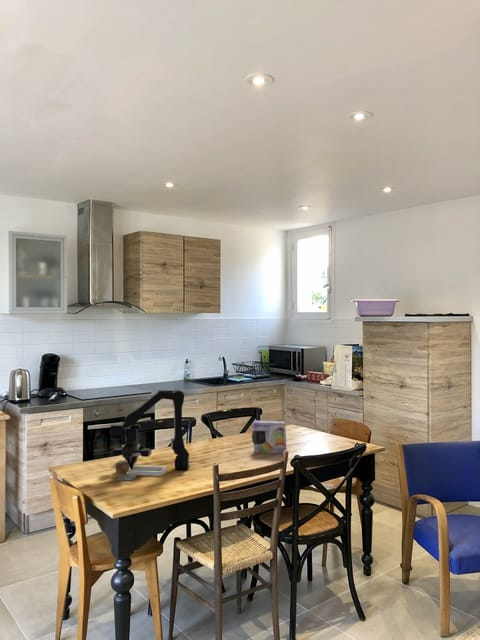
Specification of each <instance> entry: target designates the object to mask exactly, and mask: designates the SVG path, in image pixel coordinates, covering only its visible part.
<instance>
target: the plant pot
mask: <svg viewBox="0 0 480 640" xmlns="http://www.w3.org/2000/svg"><path fill="white" fill-rule="evenodd" d="M124 445H125V444H123V445H121V448H123V447H124ZM140 446H141V444H139V443H137V447H138V450H139V449H140ZM132 456H133V455H132ZM124 461H127V460H126V459H125V458H124ZM137 462H138V458H137V459H136V462H135V463H137Z"/></svg>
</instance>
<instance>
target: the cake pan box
mask: <svg viewBox="0 0 480 640" xmlns="http://www.w3.org/2000/svg"><path fill="white" fill-rule="evenodd" d="M252 426H253V427H252V428H253V429H252V433H251V440H252V442H253V443H252V444H253V452H254V453H258V452H259V453H260V454H261V453H263V454H280V455H281V454H283V451H284V450H287V434H286V433H287V432H286V421H278V420H277V421H276V420H257V419H255V420H254V421H253V422H252ZM259 453H258V454H259ZM283 455H284V454H283Z"/></svg>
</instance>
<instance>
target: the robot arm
mask: <svg viewBox="0 0 480 640" xmlns="http://www.w3.org/2000/svg"><path fill="white" fill-rule="evenodd" d="M162 399H163V400H170V401H172V405H173V419H174V420H173V421H174V423H173V424H174V425H173V426H174V431H173V432H174V436H173V438H170V442H171V444H170V448H171V450H172V451H173V453H174V454H175V455H176V456H175V459H174V470H175V471H189V468H190V467H191V465H190V452H189V451H188V449H186V447H185V442H184V437H183V406H184V400H185V393H184V392H183V391H182V390H181V389H178V388H177V389H176V388H175V389H174V390H165V389H164V390H163V389H159V390H157V392H156V393H154V394H153V395H152V396H150V397H149V398H148V399H147V400H146V401H145V402H143V403H142V404H141V405H140V406H138V407H136V408H134V409H132V410H131V411H130V410H129V412H127V413H126V414H125V416H124V417H125V419H123V420H124V421H123V422H122V423H121V424H116V425H115V424H111V425H110V432H109V439H110V440H122V439H123V438H124V437H125V440H124V444H123V445H124V447H115V448H113V449H112V450H111V457H119V455H122V458H123V459H124V460H125V459H126V460H127V461H128V464H129V470H133V467H134V466H135V464H136V463H137V462H136V459H137V460H138V458H139V457H140V456H141V457H142V458H143V457H144V458H145V457H146V458H148V457H150V456H151V455H152V448H149V447H148V448H145V447H144V448H142V449H141V450H139V449H138V447H137V444H138V441H139V438H138V430H141V429H142V427H141V425H140V424H139V420H140V419H141V418H142V417H143V415H144V414H145V413H146V412H148V411H149V410H150V409H152V407H154V406H155V405H156V404H157V403H158V402H160V401H161V400H162ZM132 455H133V456H132Z"/></svg>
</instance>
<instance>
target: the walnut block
mask: <svg viewBox="0 0 480 640" xmlns="http://www.w3.org/2000/svg"><path fill="white" fill-rule="evenodd" d="M128 470H130V467H129V464H128V461H125V460H123V459H121V460H120V459H119V460H118V461H117V462H116V463H115V474H128Z"/></svg>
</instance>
